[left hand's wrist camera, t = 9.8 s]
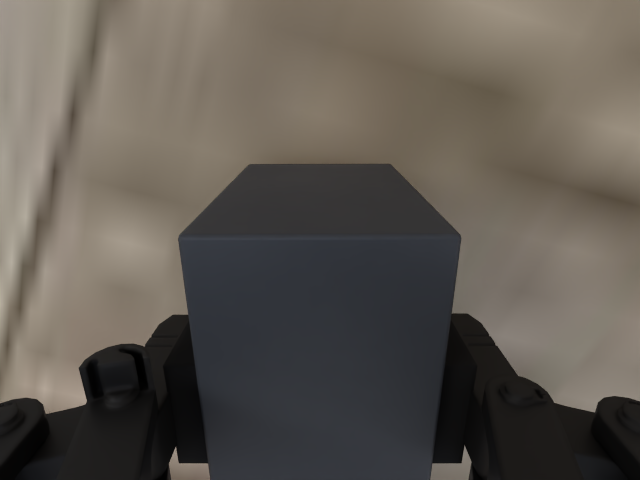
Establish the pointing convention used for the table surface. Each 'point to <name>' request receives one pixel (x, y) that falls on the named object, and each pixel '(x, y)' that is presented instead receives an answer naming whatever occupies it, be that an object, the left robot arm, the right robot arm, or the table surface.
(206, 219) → the beam
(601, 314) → the table surface
